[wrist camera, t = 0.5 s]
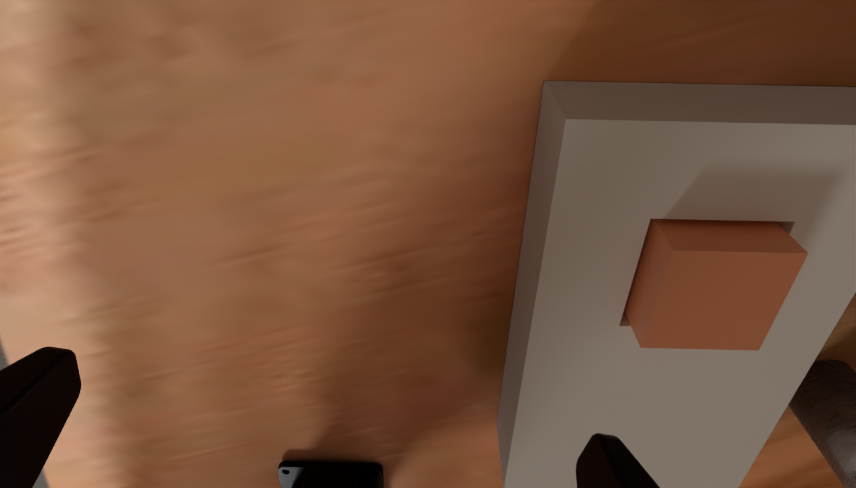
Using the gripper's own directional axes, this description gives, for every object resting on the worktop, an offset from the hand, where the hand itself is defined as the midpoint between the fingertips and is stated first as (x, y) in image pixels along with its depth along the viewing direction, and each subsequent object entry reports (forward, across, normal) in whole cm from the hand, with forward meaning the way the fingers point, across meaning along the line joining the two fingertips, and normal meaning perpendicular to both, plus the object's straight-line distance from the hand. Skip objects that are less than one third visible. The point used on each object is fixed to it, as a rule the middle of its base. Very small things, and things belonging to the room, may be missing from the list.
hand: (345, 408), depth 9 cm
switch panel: (+14, -13, +6) cm, 20 cm away
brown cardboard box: (+12, -12, +2) cm, 17 cm away
